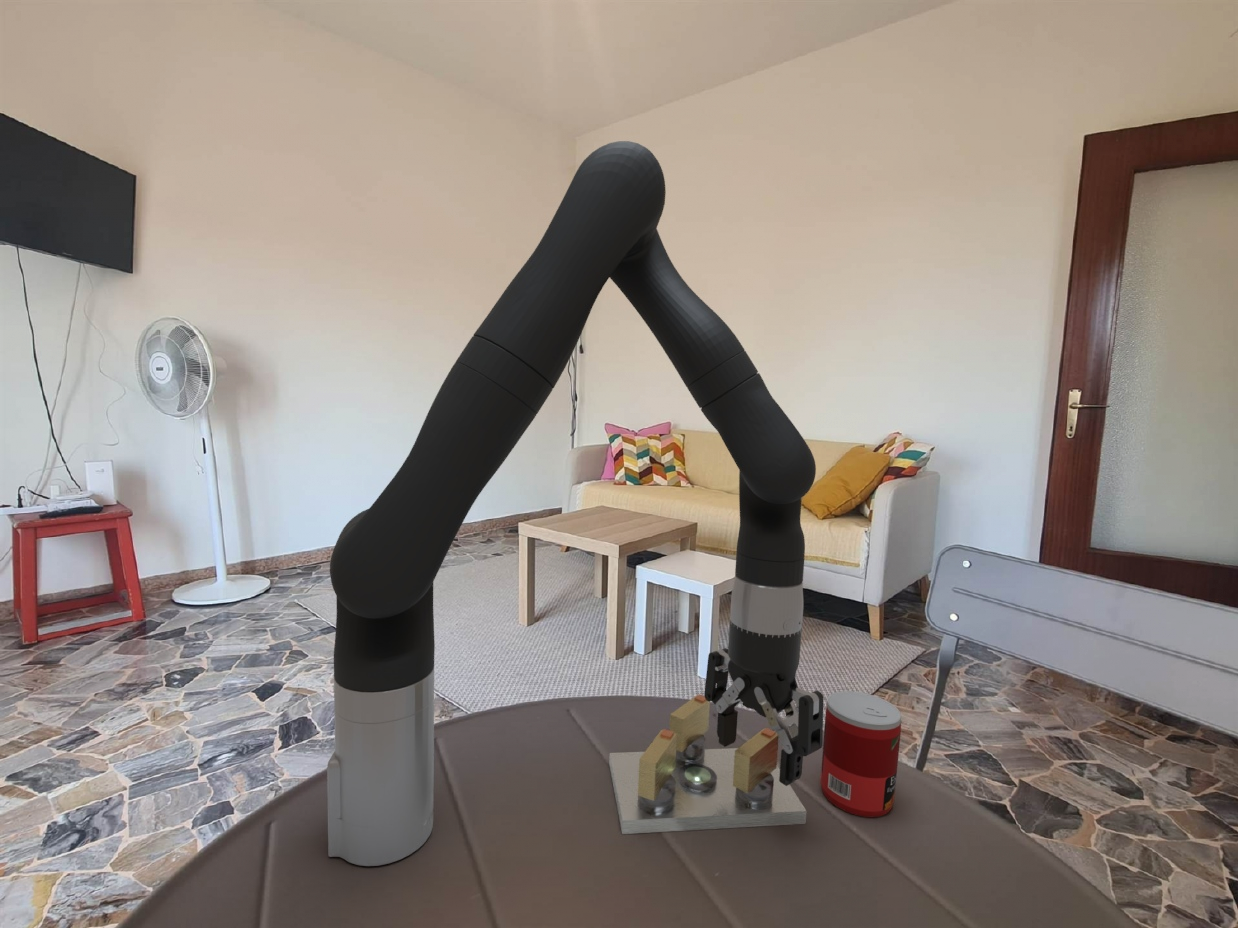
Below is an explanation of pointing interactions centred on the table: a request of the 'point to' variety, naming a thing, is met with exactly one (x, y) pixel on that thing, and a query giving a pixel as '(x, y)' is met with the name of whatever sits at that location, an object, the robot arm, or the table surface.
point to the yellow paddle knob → (690, 730)
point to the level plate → (699, 797)
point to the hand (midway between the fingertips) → (756, 761)
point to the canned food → (860, 753)
